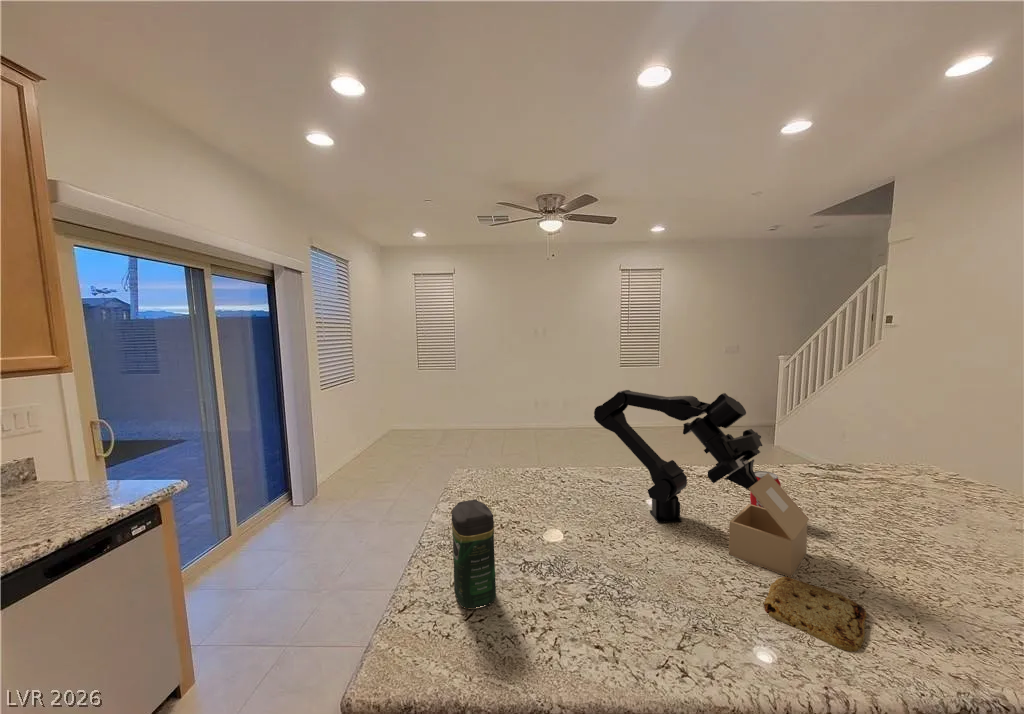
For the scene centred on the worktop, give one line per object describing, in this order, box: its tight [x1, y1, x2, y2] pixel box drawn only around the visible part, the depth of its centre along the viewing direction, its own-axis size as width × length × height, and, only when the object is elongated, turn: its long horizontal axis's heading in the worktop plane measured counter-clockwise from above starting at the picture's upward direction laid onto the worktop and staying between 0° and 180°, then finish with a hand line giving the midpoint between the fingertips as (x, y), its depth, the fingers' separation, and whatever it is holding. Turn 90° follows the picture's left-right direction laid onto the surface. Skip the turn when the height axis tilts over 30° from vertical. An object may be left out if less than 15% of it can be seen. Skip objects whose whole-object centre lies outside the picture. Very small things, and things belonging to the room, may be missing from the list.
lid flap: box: [748, 473, 810, 540], centre depth 88 cm, size 12×12×1 cm
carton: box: [728, 503, 808, 578], centre depth 91 cm, size 12×13×8 cm
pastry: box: [763, 576, 868, 653], centre depth 72 cm, size 17×17×3 cm
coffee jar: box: [450, 499, 497, 609], centre depth 79 cm, size 10×8×19 cm
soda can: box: [749, 470, 782, 508], centre depth 108 cm, size 7×7×12 cm
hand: (762, 494), depth 91 cm, fingers closed, pressing on lid flap
